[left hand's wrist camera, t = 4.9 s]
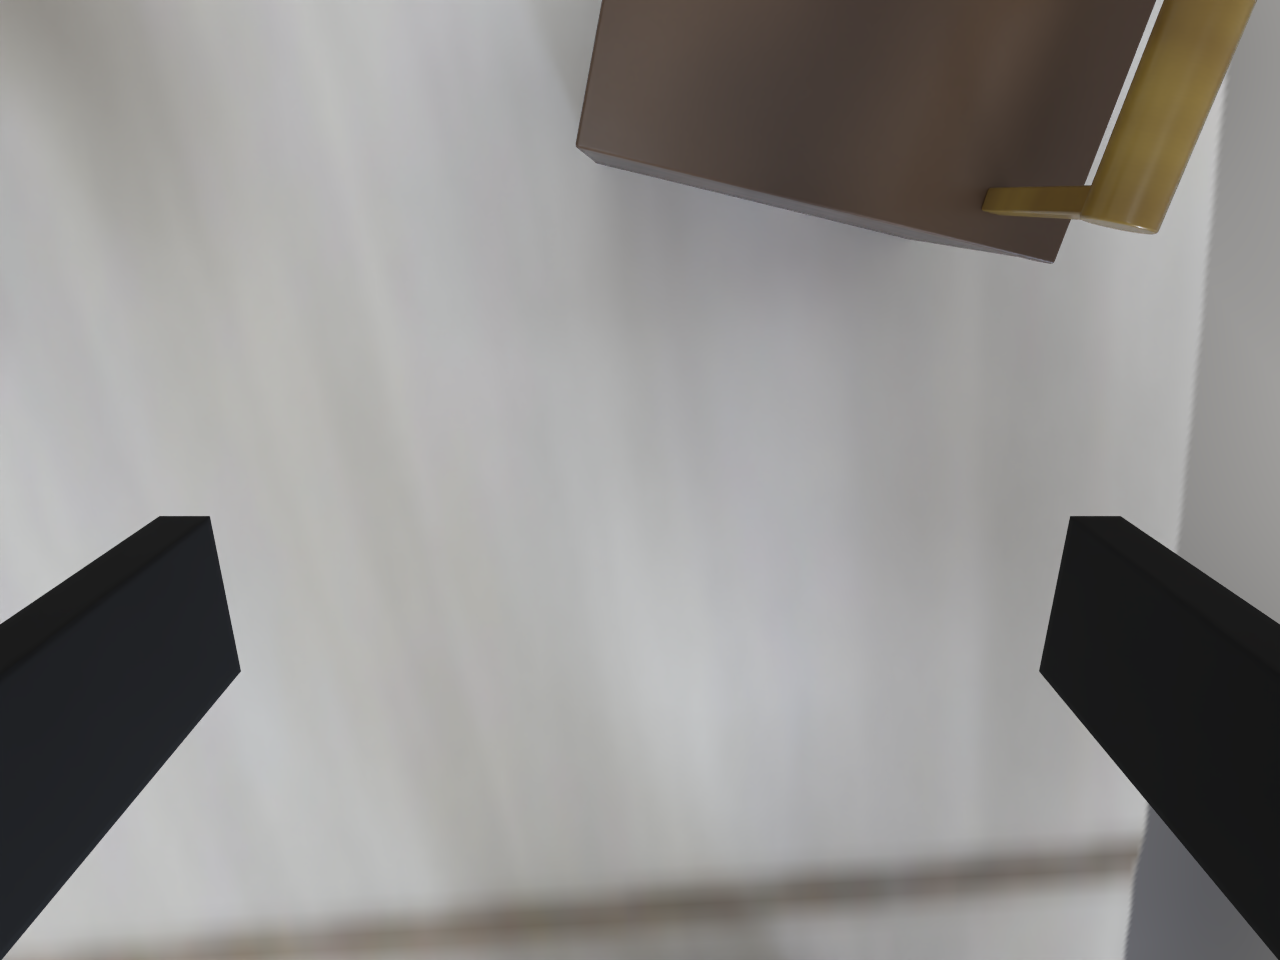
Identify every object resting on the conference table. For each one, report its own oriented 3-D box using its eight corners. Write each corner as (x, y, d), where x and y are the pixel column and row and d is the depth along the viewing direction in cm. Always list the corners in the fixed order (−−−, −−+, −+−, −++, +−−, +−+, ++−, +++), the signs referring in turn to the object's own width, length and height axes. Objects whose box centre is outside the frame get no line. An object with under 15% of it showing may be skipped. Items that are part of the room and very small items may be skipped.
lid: (1160, -58, 23) (1458, -202, 15) (1038, 261, 26) (1227, 293, 18) (642, -204, 22) (645, -450, 14) (577, 149, 25) (546, 125, 17)
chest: (983, 17, 34) (1139, -63, 23) (910, 239, 37) (1019, 257, 26) (641, -75, 32) (642, -203, 22) (595, 162, 35) (577, 149, 25)
